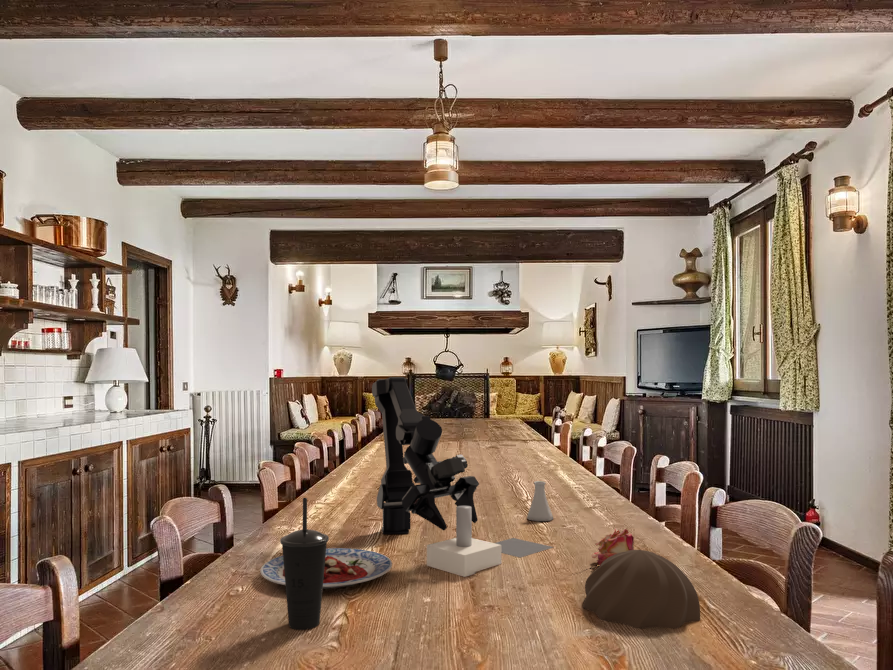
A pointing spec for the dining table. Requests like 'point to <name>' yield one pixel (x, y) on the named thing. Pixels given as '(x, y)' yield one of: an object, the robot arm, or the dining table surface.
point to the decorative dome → (641, 591)
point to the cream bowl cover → (463, 549)
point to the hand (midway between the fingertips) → (461, 525)
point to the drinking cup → (304, 574)
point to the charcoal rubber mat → (520, 547)
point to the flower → (614, 545)
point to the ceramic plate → (337, 567)
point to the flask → (539, 504)
